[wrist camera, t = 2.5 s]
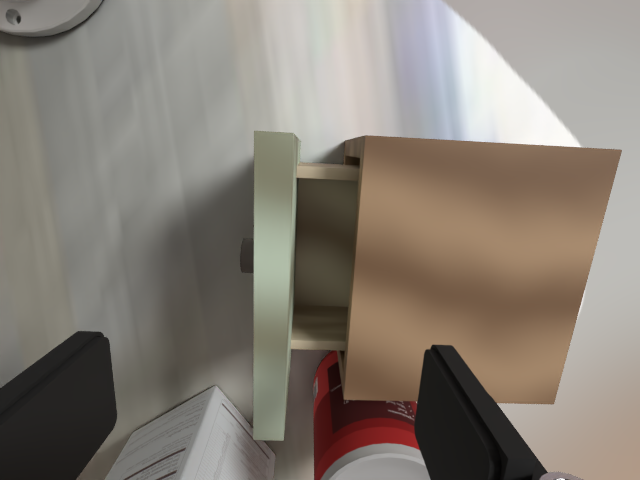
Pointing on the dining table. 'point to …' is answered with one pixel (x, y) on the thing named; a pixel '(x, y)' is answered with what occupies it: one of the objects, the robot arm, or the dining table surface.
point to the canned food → (362, 433)
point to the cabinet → (469, 261)
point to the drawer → (296, 266)
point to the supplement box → (196, 445)
